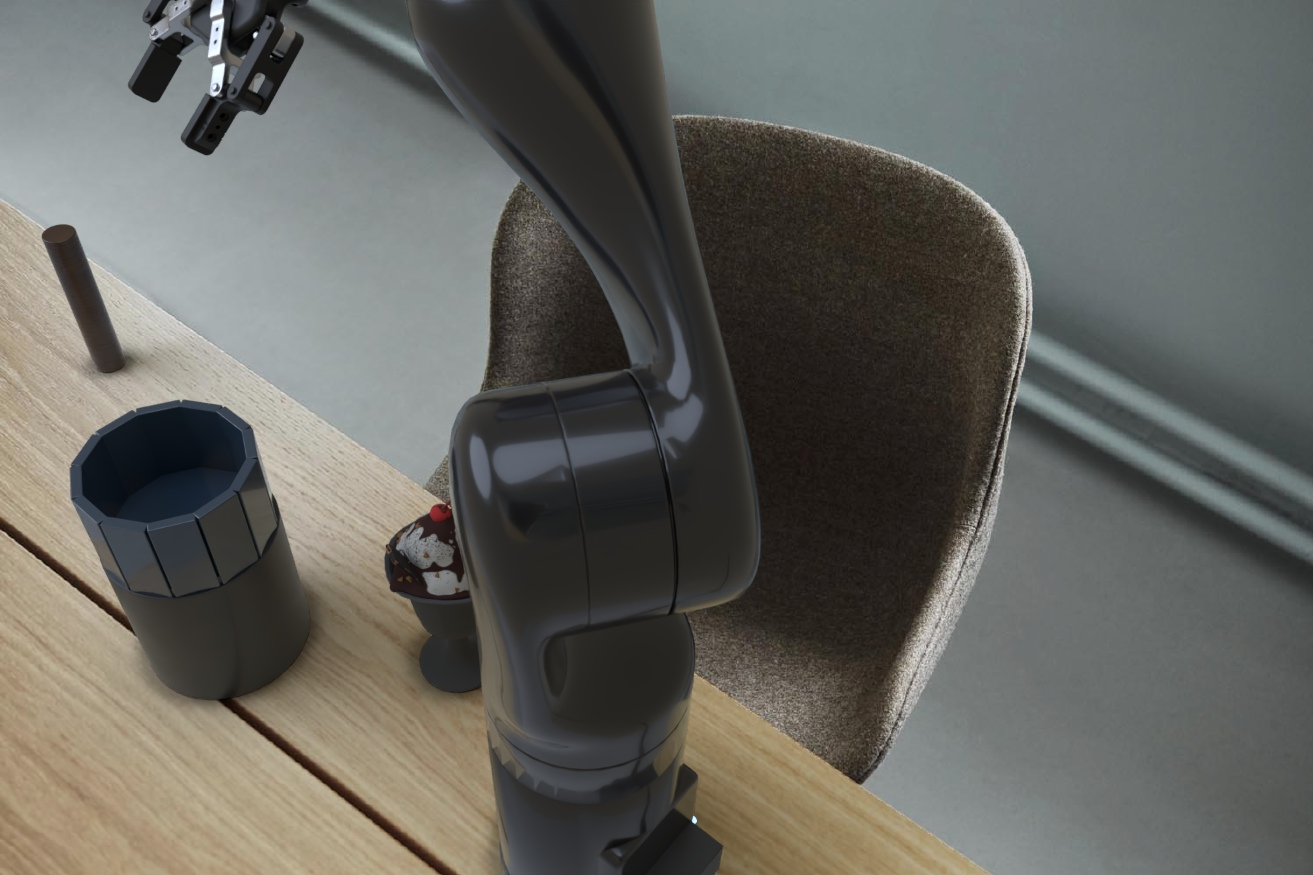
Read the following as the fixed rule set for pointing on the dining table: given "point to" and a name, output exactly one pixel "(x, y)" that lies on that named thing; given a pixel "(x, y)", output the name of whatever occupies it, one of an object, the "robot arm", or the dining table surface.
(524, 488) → the robot arm
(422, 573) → the sundae
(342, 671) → the dining table surface
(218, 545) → the bowl
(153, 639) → the stand
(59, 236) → the stick
